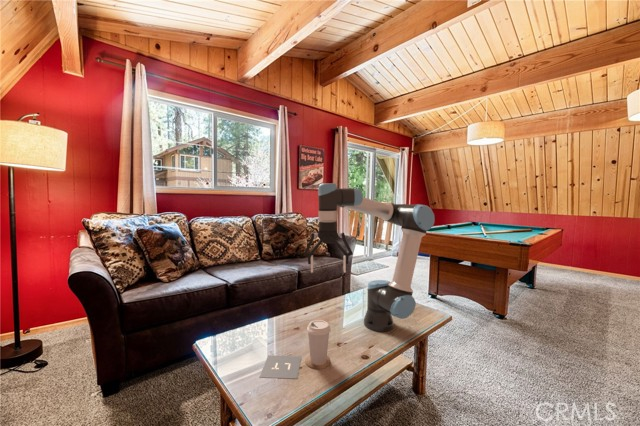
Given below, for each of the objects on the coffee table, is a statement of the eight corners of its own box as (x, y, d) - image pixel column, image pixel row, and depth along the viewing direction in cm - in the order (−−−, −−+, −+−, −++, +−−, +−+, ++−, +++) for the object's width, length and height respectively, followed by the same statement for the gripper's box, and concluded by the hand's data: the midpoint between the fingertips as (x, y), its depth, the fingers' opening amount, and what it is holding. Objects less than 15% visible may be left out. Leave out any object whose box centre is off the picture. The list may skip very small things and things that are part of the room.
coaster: (330, 354, 115) (330, 353, 115) (330, 369, 105) (330, 368, 105) (306, 354, 116) (306, 353, 116) (304, 368, 106) (304, 367, 106)
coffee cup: (306, 354, 115) (306, 319, 114) (328, 353, 116) (329, 318, 115) (307, 368, 105) (307, 330, 104) (331, 367, 106) (332, 329, 105)
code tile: (301, 356, 114) (301, 356, 114) (297, 378, 100) (297, 378, 100) (268, 355, 114) (268, 355, 114) (259, 377, 100) (259, 377, 100)
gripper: (357, 219, 116) (357, 269, 117) (298, 220, 117) (299, 269, 118) (359, 221, 108) (359, 274, 110) (296, 222, 109) (297, 274, 110)
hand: (328, 271), depth 114 cm, fingers open, 13 cm apart
